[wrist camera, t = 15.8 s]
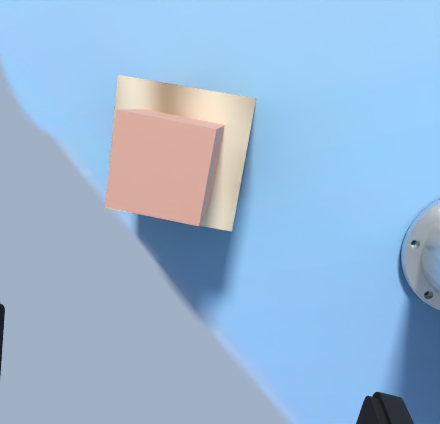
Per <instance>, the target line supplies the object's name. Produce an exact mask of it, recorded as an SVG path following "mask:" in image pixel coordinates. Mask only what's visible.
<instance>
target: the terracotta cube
mask: <svg viewBox="0 0 440 424" xmlns="http://www.w3.org/2000/svg"><path fill="white" fill-rule="evenodd" d="M224 126H225V125H223V124H218V123H213V122H207V121H202V120H197V119H192V118H187V117H182V116H177V115H172V114H167V113H161V112H156V111H151V110H146V109H119V110H116V116H115V124H114V133H113V142H112V150H111V159H110V167H109V176H108V184H107V193H106V202H105V207H107V208H112V209H117V210H122V211H127V212H132V213H136V214H141V215H146V216H151V217H156V218H161V219H165V220H170V221H175V222H180V223H185V224H190V225H194V226H199V225H200V223H201V221H202V219H203V217H204V215H205V213H206V211H207V209H208V207H209V205H210V201H211V196H212V190H213V185H214V180H215V174H216V169H217V163H218V158H219V153H220V147H221V142H222V136H223V131H224Z"/></svg>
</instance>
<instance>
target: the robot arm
mask: <svg viewBox="0 0 440 424" xmlns="http://www.w3.org/2000/svg"><path fill="white" fill-rule="evenodd" d="M412 241H414V243H413V244H411V242H412ZM401 263H402V269H403V273H404V276H405V278H406V280H407V282H408V284H409V286H410V287H411V288H412V290H413V291H414V292H415V294H416V295H417V296H418V297H419V298H420V299H421V300H422V301H423V302H425V303H426V304H428V305H429V306H431V307H433V308H434V309H437V310H439V311H440V199H438V200H437V201H435V202H433V203H432V204H430V205H429V206H428V207H427V208H425V209H424V210H423V211H422V212H421V213H420V214H419V215H418V216H417V217H416V219H415V220H414V221H413V223H412V224H411V226H410V228H409V229H408V231H407V233H406V236H405V238H404V241H403V245H402V252H401ZM425 292H426V293H425ZM4 315H5V308H4V306H3V305H2V304H0V372H1V359H2V344H3V330H4ZM0 374H1V373H0ZM356 424H414V423H413V421H412V419H411V417H410V414H409V412H408V410H407V408H406V406H405V404H404V401H403V400H402V398H400V397H397V396H393V395H389V394H385V393H381V392H375V393H374V394H373V397H371V396H366V398H365V400H364V402H363V405H362V408H361V411H360V414H359V417H358V420H357V423H356Z"/></svg>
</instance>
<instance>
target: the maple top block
mask: <svg viewBox="0 0 440 424" xmlns="http://www.w3.org/2000/svg"><path fill="white" fill-rule="evenodd" d="M255 103H256V98H251V97H245V96H239V95H233V94H227V93H221V92H216V91H210V90H204V89H198V88H192V87H186V86H180V85H174V84H168V83H163V82H157V81H151V80H145V79H139V78H133V77H127V76H121V75H118V81H117V92H116V102H115V113H114V124H115V116H116V110H119V109H146V110H151V111H156V112H161V113H167V114H172V115H177V116H182V117H187V118H192V119H197V120H202V121H207V122H213V123H218V124H223V125H225V126H224V131H223V136H222V142H221V147H220V153H219V158H218V163H217V169H216V174H215V180H214V185H213V190H212V196H211V201H210V205H209V207H208V209H207V211H206V213H205V215H204V217H203V219H202V221H201V223H200V225H199V226H204V227H209V228H215V229H220V230H226V231H231V232H232V228H233V223H234V219H235V213H236V208H237V202H238V197H239V191H240V186H241V180H242V175H243V169H244V164H245V158H246V153H247V147H248V142H249V136H250V131H251V125H252V120H253V114H254V109H255ZM114 124H113V133H114ZM112 142H113V134H112ZM111 150H112V145H111ZM110 159H111V155H110ZM109 167H110V166H109ZM106 208H107V207H106ZM107 209H112V208H107ZM112 210H117V209H112ZM117 211H122V210H117ZM123 212H127V211H123ZM128 213H132V212H128ZM134 214H136V213H134ZM139 215H141V214H139ZM144 216H146V215H144ZM150 217H151V216H150ZM155 218H156V217H155Z"/></svg>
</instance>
